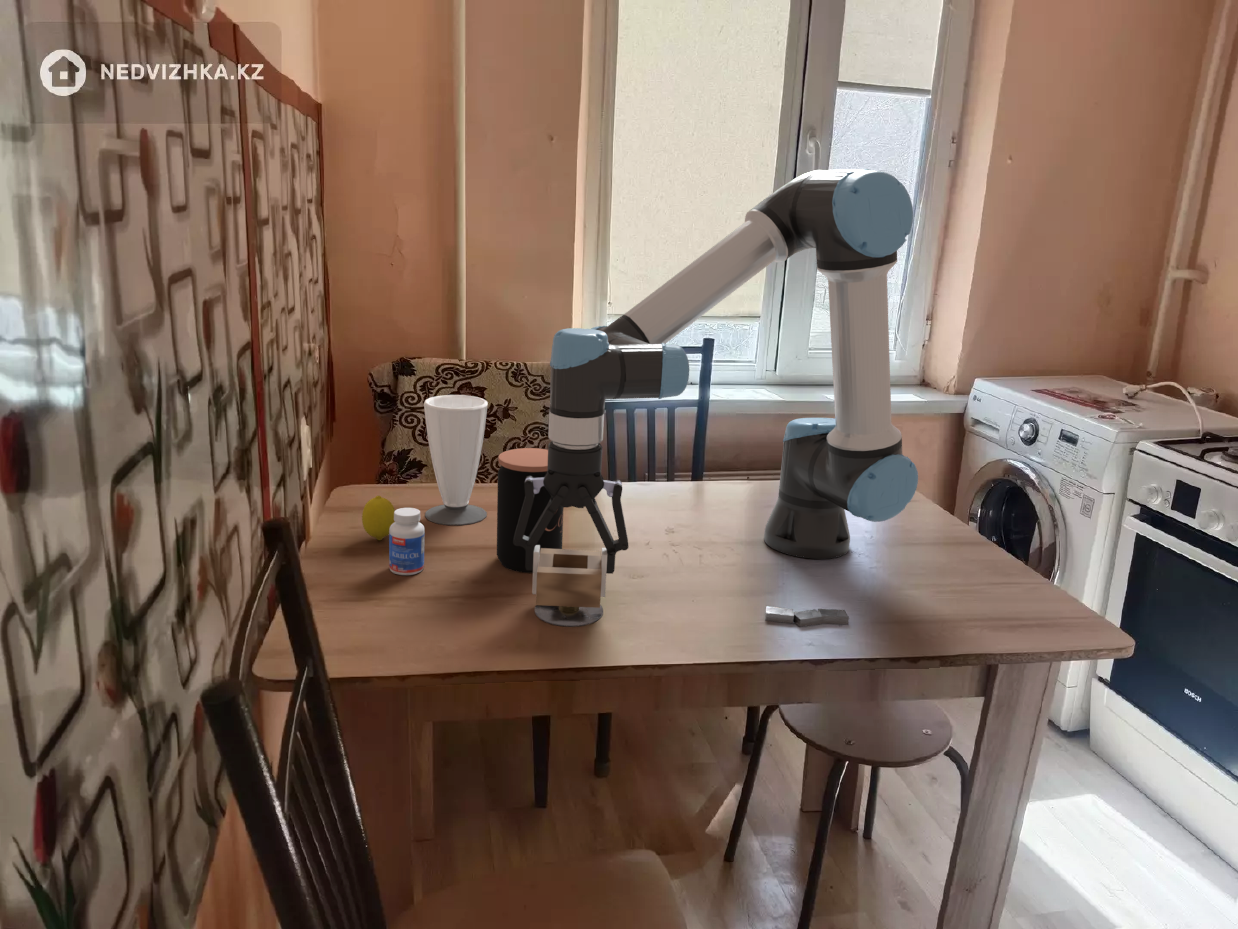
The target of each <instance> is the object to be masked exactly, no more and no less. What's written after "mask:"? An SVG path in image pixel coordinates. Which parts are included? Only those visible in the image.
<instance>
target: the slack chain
mask: <svg viewBox="0 0 1238 929" xmlns="http://www.w3.org/2000/svg"><path fill="white" fill-rule="evenodd" d="M764 616H765V621H767V622H777V623H786V624H795V625H797V626H798V627H799V628H802V627H810V626H815V625H822V624H828V625H829V624H830V625H849V621H850V620H849V619H850V616H849V614H848V613H847V611H846V610H845V609H839V608H838V609H833V608H832V609H830V608H818V609H815V608H814V609H806V610H800V611H794V608H788V607H787V608H786V607H778V606H770V605H769V606H768V605H766V606H765V614H764Z"/></svg>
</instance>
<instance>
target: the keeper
mask: <svg viewBox="0 0 1238 929" xmlns="http://www.w3.org/2000/svg"><path fill="white" fill-rule="evenodd" d="M534 614H535V615H536V617H537V618H538V619H539V620H541V621H543V622H545V623H547V624H550V625H552V626H558V627H559V626H560V627H570V628H573V627H582V626H587V625H591V624H594V623H596V622H598V621H599V620H600V619H601V618H602V617H603V615H604V609H603V606H602V605H601V604H600V608H593V607H569V606H545V605H536V604H535V606H534Z"/></svg>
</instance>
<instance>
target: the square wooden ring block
mask: <svg viewBox="0 0 1238 929" xmlns="http://www.w3.org/2000/svg"><path fill="white" fill-rule="evenodd" d="M601 556H602V550H591V549H590V550H589V549H570V548H569V549H567V548H566V549H564V548H562V549H548V548H541V550H540V557H539V563H538V569H537V588H536V594H535V606H536V605H545V606H569V607H593V608H600V605H601V598H602V597H601V580H602V566H601Z"/></svg>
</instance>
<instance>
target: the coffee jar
mask: <svg viewBox="0 0 1238 929" xmlns="http://www.w3.org/2000/svg"><path fill="white" fill-rule="evenodd" d="M497 459H498V463H499V465H500V467H499V469H498V471H497V495H496V497H497V501H496V502H497V506H496V507H497V508H496V510H497V511H496V512H497V513H496V515H497V516H496V518H497V519H496V556H497V559H498V560H499V561H498V562H500V563H501V566H502V567H504V568H505V569H508V570H510V571H513V572H518V573H522V574H523V573H524V574H526V573H527V574H533V571H532V570H526V568H525V559H526V550H525V549H524V548H523V547H521V546H515V545H514V544H513V540H514V535H515V532H516V528H517V525H518V521H519V517H520V514H521V510H522V507H523V503H524V499H525V487H524V484H525V480H526V477H527V476H532V477H533V478H542V477H544V476H545V475H546V473H547V466H548V449H545V448H538V447H537V448H536V447H525V448H523V447H521V448H514V449H509V450H506V451H502V452H501V453H500V454H499V455H498V458H497ZM551 497H552V496H551V495H550V493H549V492H548V491H547V489H546V488H545V486H542V487H541V488H540V491H539V493H537V494H535V495H534V500H533V504H532V507H531V511H530V515H529V518H528V522H527V525H526V529H525V532H524V535H525V536H527V537H529V535H530V534H531V532H532V530H533V528H534V527H535V525H536V523H537V522H538V520H539V518H540V516H541V515H542V513H543V511H544V510H545V508H546V506H547V504H548V502H549V500H550V498H551ZM564 508H565V507H562V506H559V508H558V509H557V511H556V513H555V514H554V515H553V517H552V519H551V520H550V522H549V524H548V525H547V527H546V529H545V531H544V532H543V534H542V536H541V537H540V539H539V541H538V542H537V544H536V545H540V550H541V548H548V549H563V532H564Z"/></svg>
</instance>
